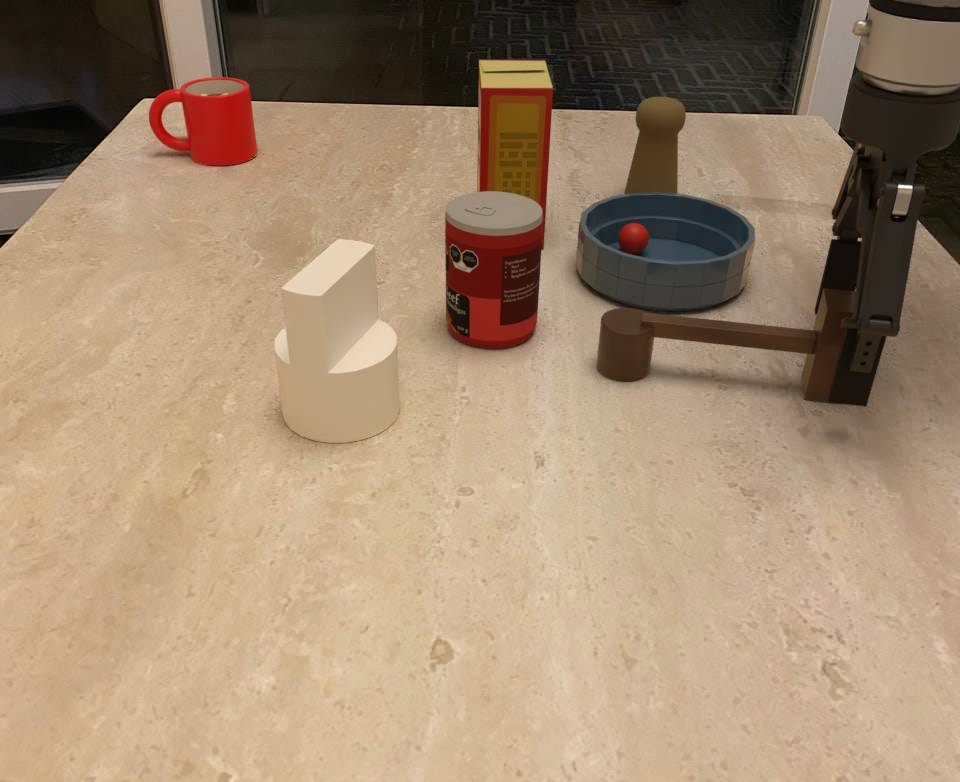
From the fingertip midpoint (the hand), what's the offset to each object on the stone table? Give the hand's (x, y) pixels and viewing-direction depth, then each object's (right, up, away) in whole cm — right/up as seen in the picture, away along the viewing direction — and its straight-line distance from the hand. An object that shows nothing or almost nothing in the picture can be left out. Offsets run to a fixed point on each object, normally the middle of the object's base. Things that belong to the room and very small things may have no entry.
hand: (838, 355), depth 79 cm
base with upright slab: (-39, -5, -2) cm, 39 cm away
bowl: (-11, +10, +17) cm, 23 cm away
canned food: (-27, +3, +9) cm, 29 cm away
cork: (-9, +21, +32) cm, 39 cm away
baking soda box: (-25, +16, +25) cm, 39 cm away
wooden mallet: (-9, -2, +3) cm, 9 cm away
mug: (-61, +29, +41) cm, 79 cm away
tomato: (-13, +14, +19) cm, 27 cm away
